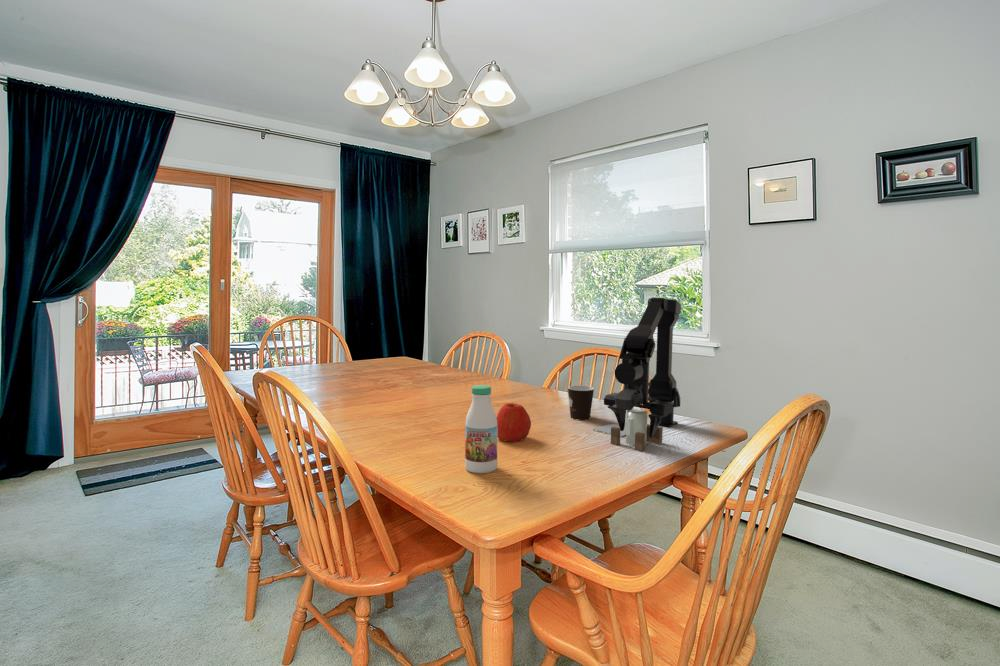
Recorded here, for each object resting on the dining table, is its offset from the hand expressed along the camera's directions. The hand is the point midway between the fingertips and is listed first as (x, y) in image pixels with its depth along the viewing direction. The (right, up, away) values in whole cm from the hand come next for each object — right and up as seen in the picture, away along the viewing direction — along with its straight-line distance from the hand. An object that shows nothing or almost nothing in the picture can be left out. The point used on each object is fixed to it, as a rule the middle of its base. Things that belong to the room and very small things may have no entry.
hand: (636, 434), depth 146 cm
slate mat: (-3, -1, +13) cm, 13 cm away
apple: (-35, -2, +4) cm, 35 cm away
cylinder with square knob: (0, -3, 0) cm, 3 cm away
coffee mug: (-11, 0, +30) cm, 32 cm away
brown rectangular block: (0, -3, 0) cm, 3 cm away
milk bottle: (-43, -5, -21) cm, 48 cm away
